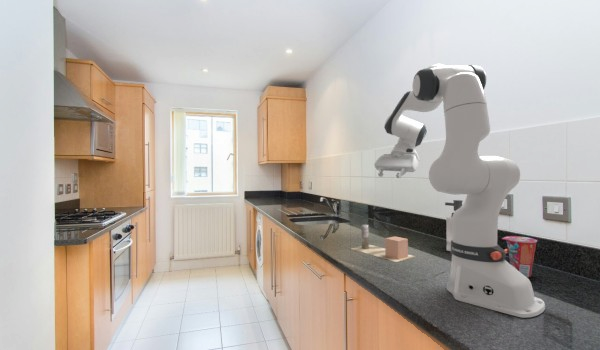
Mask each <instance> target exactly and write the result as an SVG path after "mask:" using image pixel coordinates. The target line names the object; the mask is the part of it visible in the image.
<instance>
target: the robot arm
mask: <svg viewBox="0 0 600 350" xmlns="http://www.w3.org/2000/svg"><path fill="white" fill-rule="evenodd" d="M486 84H487V73H486V72H485V69H484V68H483V67H481V66H479V65H475V64H474V65H472V64H469V65H445V64H443V63H435V64H432V65H429V66H428V67H426V68H425V67H424V68H423V69H419V70H418V71H417V72H416V74H415V75H414V77H413V82H412V90H410V91H409V90H408V91H407V92H405V93H404V95H402V97H401V99H400V100H399V102H397V105H396V106H395V108H394V109H393V111H392V113H391V114H390V115H389V116H387V118H386V120H385V123H384V130H385V132H386V133H387V134H389V135H391V136H394V137H398V140H397V143H396V144H395V145H394V146H393V149H392V150H391V153H390V154H382V155H380V156H379V158H378V159H377V160H376V161H375V162H374V163H373V164H374V168H375V169H376V170H377V171H378V174H377V175H378V178H379V177H380V178H382V177H383V176H384V172H397V173H396V175H395V177H396V178H397V179H401V178H402V176H403V175H405V174H406V173H415V172H416V171H417V169H418V166H419V164H420V163H419V162H420V161H421V160H420V159H421V157H420V156H419V153H418V152H417V150H416V148H417V147H419V146H420V145H421V144H422V143H423V140H424V139H425V137H426V135H427V127H426V125H425V124H424V123H422V122H419V121H417V120H415V119H412V118H409V117H407V116H405V115H403V113H404V112H405V111H412V112H413V111H414V112H418V113H427V112H428V113H429V112H432V111H434V110H436V109H437V108H438V107H439V106H440V105H441V104H442V105H443V113H444V114H443V116H444V124H445V125H444V126H445V143H444V147H443V150H442V152H441V154H440V155H439V156H438V158H437V159H435V160H434V161H433V163H432V164H431V165H430V167H429V170H428V179H429V183H430V184H431V186H432V188H433V189H434V190H435V191H437V192H439V193H444V194H448V195H449V194H450V195H466V198H465V200H464V202H463V203H462V206H461V207H460V208H459V209H457V210H456V211H454V212H453V213H454V214H453V216H452V240H451V251H450V259H451V265H450V271H449V272H450V273H449V278H448V281H447V284H446V286H445V288H446V290H447V291H448V292H449V293H451V294H452V296H453V298H454V300H456V301H459V302H463V303H466V304H471V305H474V306H477V307H481V308H484V309H488V310H490V311H491V310H492V311H496V312H499V313H504V314H507V315H510V316H515V317H518V318H527V319H528V318H534V317H537V316H539V315H541V314H542V313H543V312H545V310H546V304H545V303H546V302H545V301H544V300H543V299H542V298H539V297H536V296H535V294H534V289H533V286H532V282H531V280H530V279H529V277H526V276H524V275H523V274H522V273H520V272H519V271H518V270H517V269H516V268H514V267H513V266H512V265H511V264H510V262H508V261H507V260H506V255H507V254H509V252H508V248H505V249H503V248H502V247H501V246H500V245H499V244H498V228H499V226H498V224H499V217H500V216H499V215H500V211H501V209H502V206H503V203H504V201H505V199H506V197H507V196H508V194H509V193H510V192H511V191H513V189H515V187H516V186H517V185H518V184H519V182H520V180H521V171H520V166H519V165H518V164H517V163H516V162H515V161H514V160H513V159H510V158H506V157H502V156H498V155H479V145H480V143H481V142H482V141H484V140H485V139H486V138H487V137H488V136H489V134H490V132H491V124H490V117H489V111H488V110H489V109H488V104H487V98H486V95H485V91H484V90H485V88H486ZM442 102H443V103H442Z"/></svg>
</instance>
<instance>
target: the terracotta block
mask: <svg viewBox="0 0 600 350" xmlns="http://www.w3.org/2000/svg"><path fill="white" fill-rule="evenodd" d="M384 239H385V240H384V241H385V245H384V247H385V256H387V257H391V258H394V259H398V260H399V259H402V258H406V257H408V255H409V239H408V238H404V237H399V236H390V237H385V238H384Z"/></svg>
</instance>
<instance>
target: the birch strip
mask: <svg viewBox="0 0 600 350" xmlns="http://www.w3.org/2000/svg"><path fill="white" fill-rule="evenodd" d="M360 226H361V245H360V246H355V247H351V248H350V250H354V251H357V252H361V253H365V254H367V255H371V256H375V257H377V258H381V259H384V260H389V261H391V262H395V263H398V262H402V261H405V260H409V259H414V258H416V255H412V254H408V257H406V258H402V259H399V260H398V259H394V258H391V257H387V256H385V248H384V247H380V246H378V245H377V246H376V245H372V244H369V240H370V238H369V235H370V234H369V224H361V225H360Z"/></svg>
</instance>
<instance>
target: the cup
mask: <svg viewBox="0 0 600 350" xmlns="http://www.w3.org/2000/svg"><path fill="white" fill-rule="evenodd" d="M501 239H502V240H506V245H507V249H508V250H507V252H508V256H509V264H511V265H512V266H513V267H514V268H516V269H517V270H518V271H519V272H520V273H522V274H523V275H524V276H526V277H527V278H531V277H532V272H533V266H534V265H533V264H534V259H535V258H534V257H535V252H536V247H537V246H536V245H537V243H538V239H535V238H532V237H526V236H520V235H519V236H518V235H510V236H509V235H507V236H504V237H502V238H501Z"/></svg>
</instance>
